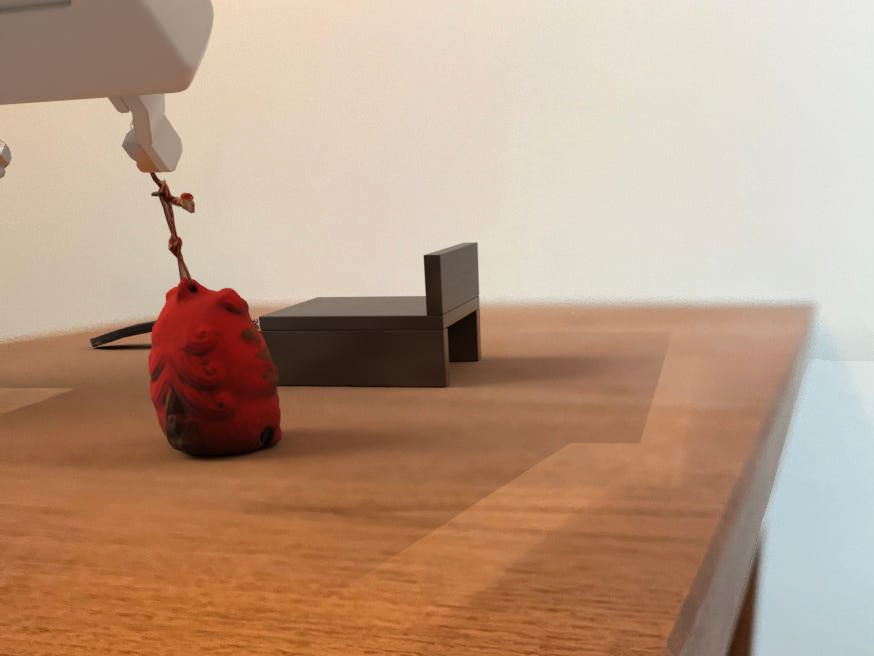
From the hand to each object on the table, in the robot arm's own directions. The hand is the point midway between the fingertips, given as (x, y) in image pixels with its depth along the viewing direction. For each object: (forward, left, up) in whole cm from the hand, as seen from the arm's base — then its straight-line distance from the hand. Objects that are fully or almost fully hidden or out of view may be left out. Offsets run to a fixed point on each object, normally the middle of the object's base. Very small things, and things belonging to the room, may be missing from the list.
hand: (77, 165), depth 45 cm
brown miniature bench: (+3, +32, -15) cm, 35 cm away
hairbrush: (-17, +44, -15) cm, 49 cm away
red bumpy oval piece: (+1, +8, -15) cm, 17 cm away
